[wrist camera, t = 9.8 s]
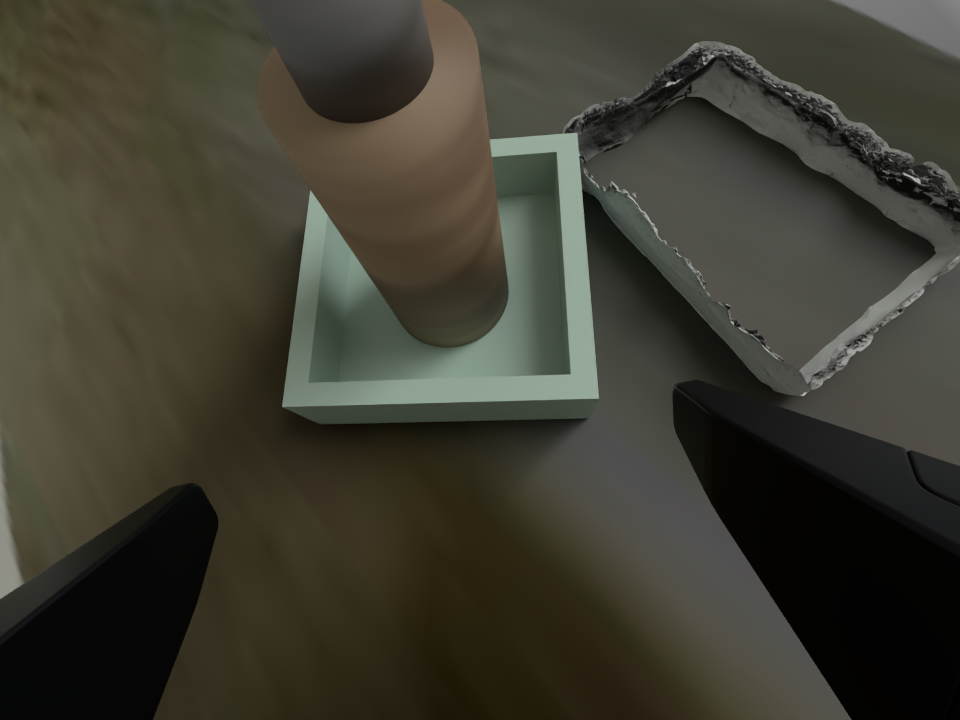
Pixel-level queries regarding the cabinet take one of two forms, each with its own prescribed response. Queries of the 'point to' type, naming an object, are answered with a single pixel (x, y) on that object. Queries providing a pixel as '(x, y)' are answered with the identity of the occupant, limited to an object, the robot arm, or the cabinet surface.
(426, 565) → the cabinet surface
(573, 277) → the tray
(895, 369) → the cabinet surface
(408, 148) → the pepper mill
